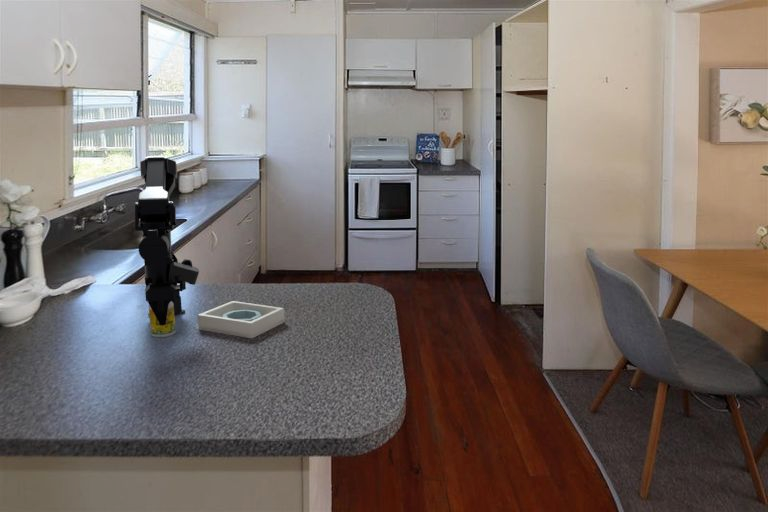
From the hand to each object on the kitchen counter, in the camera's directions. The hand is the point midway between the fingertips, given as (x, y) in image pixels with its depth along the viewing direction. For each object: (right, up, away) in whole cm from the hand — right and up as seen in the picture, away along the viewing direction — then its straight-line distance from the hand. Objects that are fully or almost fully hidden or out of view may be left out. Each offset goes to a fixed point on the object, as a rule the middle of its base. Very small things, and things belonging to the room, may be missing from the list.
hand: (162, 321), depth 148 cm
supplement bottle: (0, -3, +1) cm, 3 cm away
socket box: (+17, -2, +7) cm, 18 cm away
